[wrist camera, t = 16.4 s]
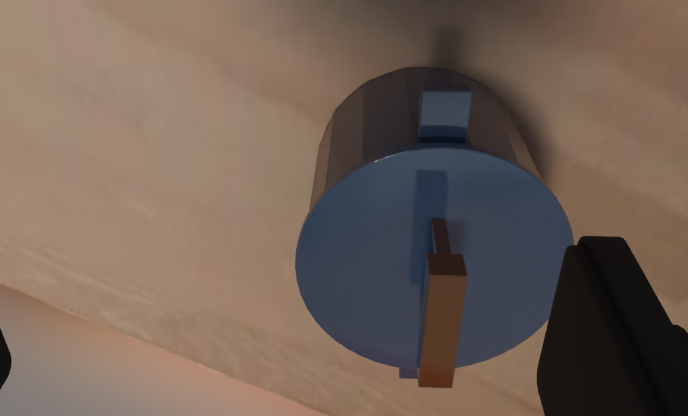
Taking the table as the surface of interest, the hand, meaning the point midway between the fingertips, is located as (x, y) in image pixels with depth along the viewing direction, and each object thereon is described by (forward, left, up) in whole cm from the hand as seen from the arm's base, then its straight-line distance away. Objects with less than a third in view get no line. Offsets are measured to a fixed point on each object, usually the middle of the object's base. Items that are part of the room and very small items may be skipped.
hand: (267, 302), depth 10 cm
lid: (+4, +15, -20) cm, 25 cm away
